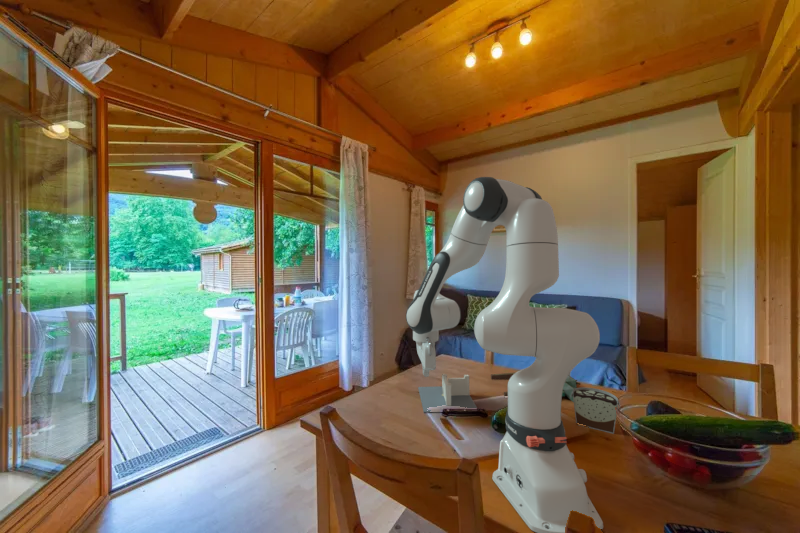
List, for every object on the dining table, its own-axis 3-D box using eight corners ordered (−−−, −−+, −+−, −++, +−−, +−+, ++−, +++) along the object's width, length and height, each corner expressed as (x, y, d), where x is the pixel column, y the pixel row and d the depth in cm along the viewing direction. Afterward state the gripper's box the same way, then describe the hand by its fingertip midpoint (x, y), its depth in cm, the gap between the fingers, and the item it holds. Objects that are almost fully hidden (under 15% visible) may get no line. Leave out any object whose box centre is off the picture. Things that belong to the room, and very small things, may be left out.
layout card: (478, 411, 103) (478, 409, 103) (423, 413, 102) (423, 411, 102) (463, 387, 123) (463, 385, 123) (418, 388, 122) (418, 386, 122)
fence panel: (442, 393, 115) (441, 373, 115) (446, 393, 116) (446, 373, 115) (446, 406, 105) (446, 384, 105) (451, 406, 105) (451, 384, 105)
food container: (620, 425, 93) (620, 392, 93) (620, 435, 88) (620, 400, 88) (572, 414, 100) (572, 383, 100) (570, 423, 95) (570, 390, 95)
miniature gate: (487, 367, 136) (557, 361, 135) (488, 379, 136) (558, 374, 135) (508, 393, 109) (595, 386, 108) (509, 409, 109) (596, 402, 108)
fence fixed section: (468, 393, 116) (468, 374, 116) (469, 395, 114) (469, 376, 114) (447, 394, 115) (447, 375, 115) (448, 395, 114) (448, 376, 114)
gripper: (440, 341, 97) (440, 386, 97) (430, 329, 118) (430, 366, 117) (420, 341, 97) (420, 386, 97) (413, 329, 117) (413, 366, 117)
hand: (425, 375), depth 107 cm, fingers closed
